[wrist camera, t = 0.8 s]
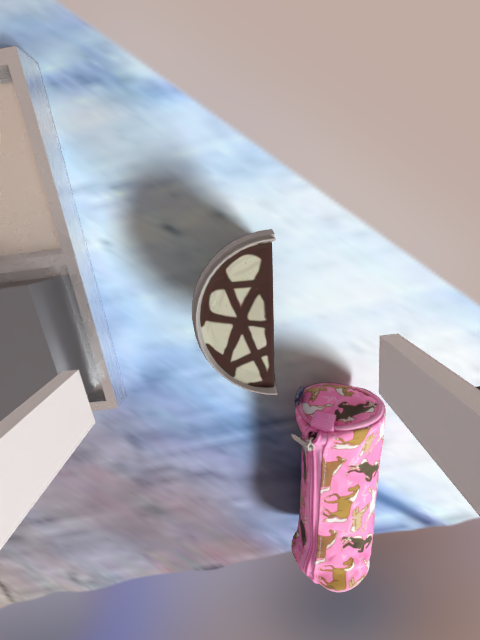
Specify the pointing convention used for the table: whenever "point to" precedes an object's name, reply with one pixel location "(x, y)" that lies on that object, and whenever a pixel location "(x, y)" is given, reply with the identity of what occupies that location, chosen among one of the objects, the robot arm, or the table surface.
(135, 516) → the table surface
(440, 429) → the robot arm
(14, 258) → the rack
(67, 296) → the grey rectangular box
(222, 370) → the food container
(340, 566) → the pencil case
